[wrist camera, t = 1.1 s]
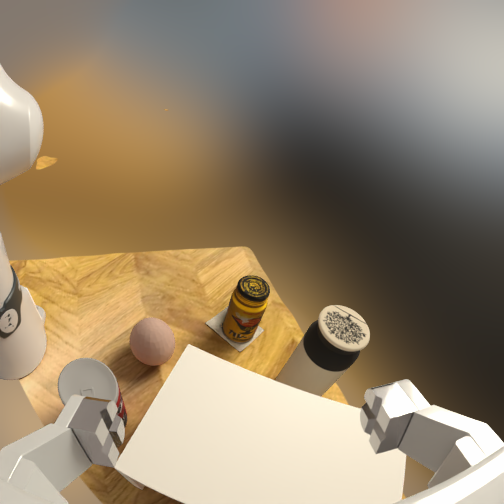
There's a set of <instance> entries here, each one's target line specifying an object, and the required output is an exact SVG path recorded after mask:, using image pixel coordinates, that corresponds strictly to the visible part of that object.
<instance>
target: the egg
mask: <svg viewBox="0 0 504 504" xmlns="http://www.w3.org/2000/svg"><path fill="white" fill-rule="evenodd" d="M130 347H131V350H132V353H133V354H134V356H135V357H136V358H137V359H138V360H139V361H140V362H142V363H144V364H147V365H151V366H156V365H160V364H163V363H165V362H166V361H168V360H169V359H170V358H171V356H172V354H173V352H174V349H175V338H174V334H173V332H172V330H171V329H170V327H169V326H168V325H167V324H166V323H165V322H164V321H162V320H160V319H157V318H146V319H143V320H141V321H140V322H138V323H137V324H136V325H135V327H134V328H133V329H132V332H131V335H130Z"/></svg>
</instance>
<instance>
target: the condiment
mask: <svg viewBox="0 0 504 504" xmlns="http://www.w3.org/2000/svg"><path fill="white" fill-rule="evenodd" d="M269 293H270V289H269V285H268V284H267V283H266V281H264V280H263V279H262V278H260V277H258V276H245V277H243V278H241V279H240V280H239V282H238V285H237V287H236V289H235V290H234V291H233V293H232V296H231V299H230V302H229V306H228V307H227V308H225V309H224V310H223V311H222V312H220V313H219V314H217V315H216V316H215V317H213V318H212V319H211V320H209V321H207V322H206V324H207V325H208V326H210V327H211V328H212V329H213V330H214V331H215V332H217V333H218V334H219V335H220V336H221V337H222V338H223V339H225V340H226V341H227V342H228V343H229V344H231V345H232V346H233V347H234V348H235V349H237V350H238V351H240V352H241V351H242V350H243V349H244V348H246V347H247V346H248V345H249V344H250V343H251V342H252V341H253V340H254V339H256V338H257V337H258V336H259V335H260V334H261V333H262V332H263V331H264V330H263V329H262V328H261V327H259V326H258V325H259V323H260V321H261V318H262V316H263V314H264V311H265V309H266V307H267V299H268V296H269ZM221 324H222V327H221Z"/></svg>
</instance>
